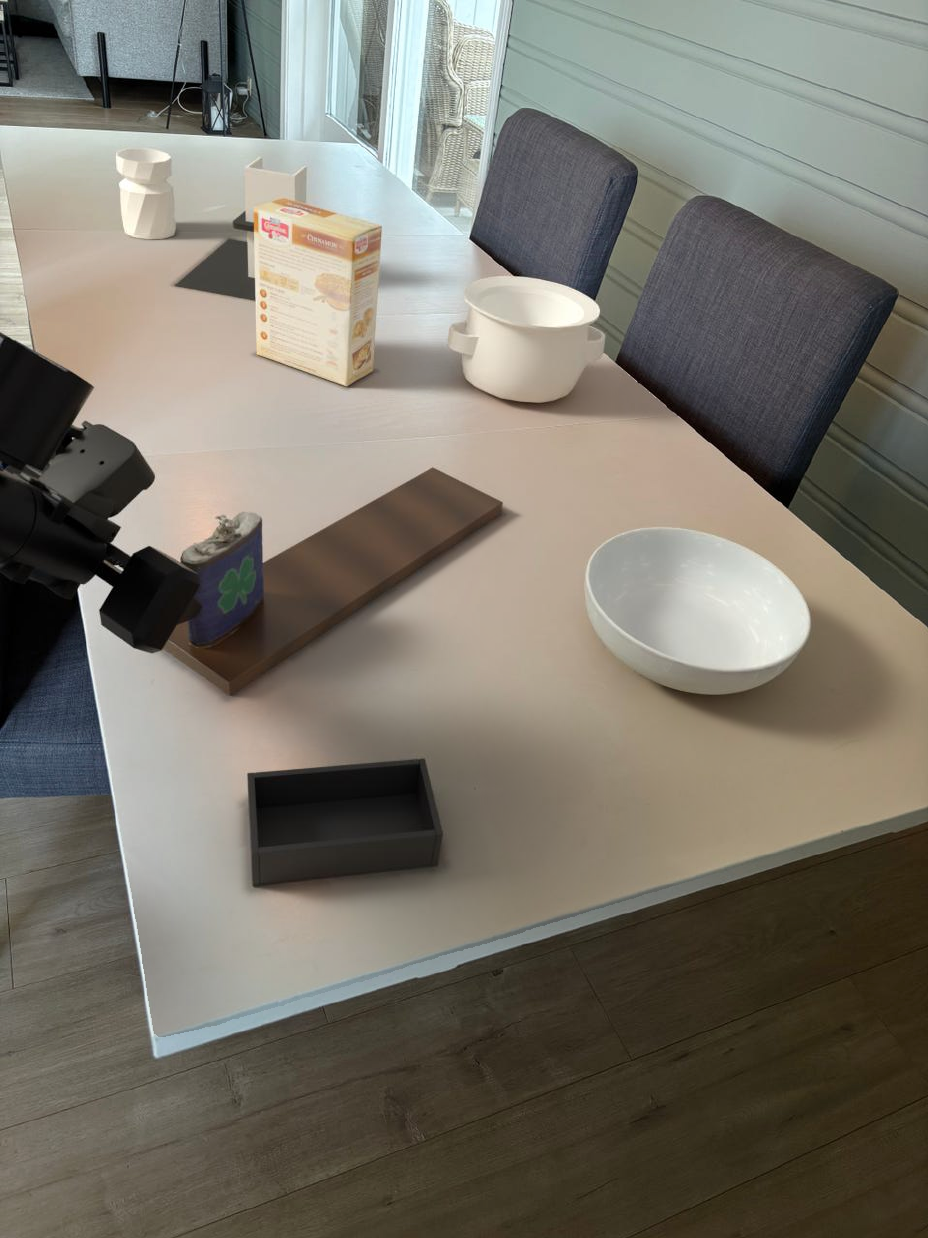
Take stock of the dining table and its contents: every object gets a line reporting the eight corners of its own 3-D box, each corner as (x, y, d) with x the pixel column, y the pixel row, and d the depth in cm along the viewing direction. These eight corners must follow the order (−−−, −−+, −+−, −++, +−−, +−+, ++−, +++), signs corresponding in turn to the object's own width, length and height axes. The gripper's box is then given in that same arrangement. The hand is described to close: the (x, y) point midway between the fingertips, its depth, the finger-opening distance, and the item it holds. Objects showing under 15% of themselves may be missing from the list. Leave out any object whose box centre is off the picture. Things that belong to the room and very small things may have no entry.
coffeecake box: (374, 370, 126) (384, 224, 114) (346, 388, 121) (353, 237, 109) (285, 339, 130) (285, 195, 118) (254, 355, 125) (251, 205, 113)
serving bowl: (534, 598, 91) (546, 542, 87) (703, 567, 99) (722, 514, 95) (645, 748, 77) (667, 690, 73) (831, 697, 85) (861, 642, 81)
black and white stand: (368, 263, 158) (374, 161, 148) (332, 314, 140) (336, 201, 129) (228, 238, 159) (224, 135, 149) (174, 285, 140) (165, 171, 130)
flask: (248, 587, 85) (245, 489, 78) (274, 599, 84) (273, 500, 77) (180, 641, 78) (170, 539, 71) (208, 655, 77) (200, 552, 70)
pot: (573, 361, 137) (590, 279, 130) (611, 416, 125) (633, 330, 117) (430, 357, 132) (439, 272, 124) (455, 414, 119) (467, 324, 111)
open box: (252, 886, 62) (251, 854, 60) (248, 805, 68) (247, 772, 65) (437, 865, 66) (443, 834, 63) (420, 789, 71) (424, 758, 68)
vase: (130, 240, 153) (122, 162, 145) (117, 223, 158) (109, 147, 151) (182, 238, 156) (177, 162, 149) (168, 221, 162) (163, 147, 154)
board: (229, 695, 76) (229, 683, 75) (150, 639, 80) (148, 626, 79) (501, 513, 102) (503, 502, 101) (431, 478, 106) (432, 466, 105)
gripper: (165, 468, 54) (297, 546, 68) (-21, 359, 61) (133, 450, 75) (67, 631, 53) (220, 675, 68) (-108, 502, 61) (63, 566, 75)
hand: (158, 584), depth 71 cm, fingers open, 9 cm apart
